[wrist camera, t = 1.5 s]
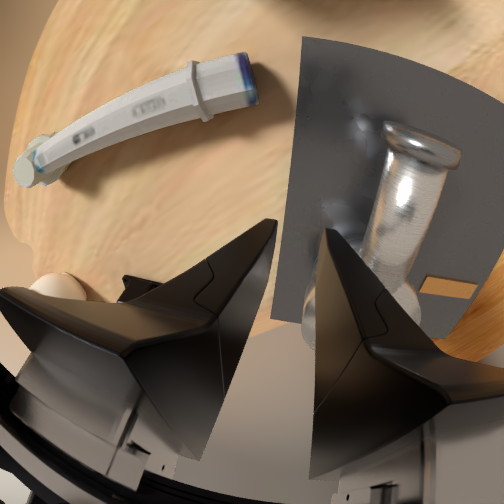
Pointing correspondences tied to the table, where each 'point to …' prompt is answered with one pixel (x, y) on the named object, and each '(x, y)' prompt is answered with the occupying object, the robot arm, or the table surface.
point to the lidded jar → (59, 286)
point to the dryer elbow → (399, 214)
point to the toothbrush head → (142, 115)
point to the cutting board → (371, 166)
